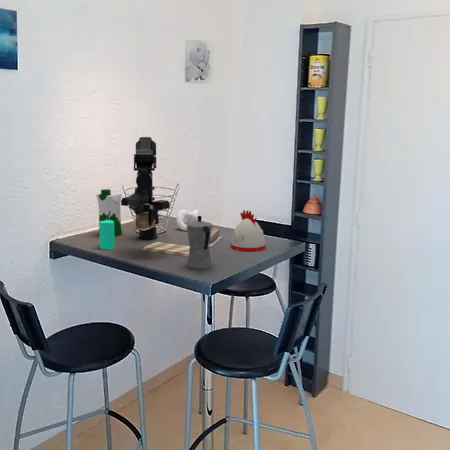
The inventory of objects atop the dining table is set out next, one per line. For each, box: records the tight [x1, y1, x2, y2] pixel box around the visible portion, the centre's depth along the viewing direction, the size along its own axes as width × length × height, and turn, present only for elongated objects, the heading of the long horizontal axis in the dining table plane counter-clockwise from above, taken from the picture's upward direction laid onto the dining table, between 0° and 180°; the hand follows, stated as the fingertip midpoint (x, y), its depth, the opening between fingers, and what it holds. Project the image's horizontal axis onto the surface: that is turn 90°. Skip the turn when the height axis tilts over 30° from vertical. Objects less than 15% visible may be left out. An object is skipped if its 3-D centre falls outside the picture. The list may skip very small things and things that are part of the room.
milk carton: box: [96, 188, 123, 237], centre depth 240 cm, size 9×9×20 cm
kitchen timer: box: [230, 210, 266, 253], centre depth 222 cm, size 14×14×15 cm
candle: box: [98, 218, 116, 250], centre depth 219 cm, size 6×6×12 cm
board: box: [143, 241, 190, 257], centre depth 217 cm, size 20×10×1 cm, turn 64°
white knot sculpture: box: [175, 209, 200, 232], centre depth 254 cm, size 11×12×9 cm
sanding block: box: [135, 212, 156, 231], centre depth 212 cm, size 4×7×6 cm, turn 154°
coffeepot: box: [186, 215, 213, 270], centre depth 195 cm, size 15×9×18 cm, turn 22°
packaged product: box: [188, 227, 224, 248], centre depth 232 cm, size 18×5×10 cm
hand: (145, 225), depth 212 cm, fingers closed on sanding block, 4 cm apart
